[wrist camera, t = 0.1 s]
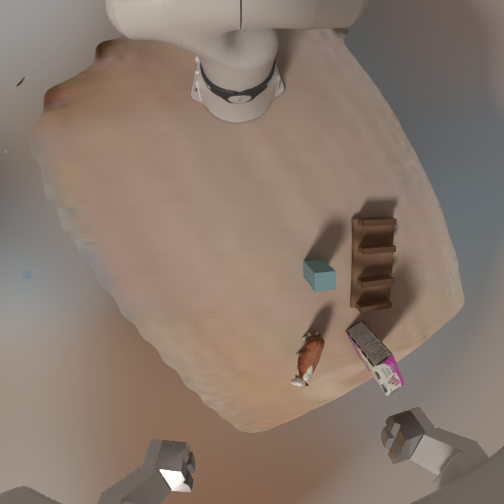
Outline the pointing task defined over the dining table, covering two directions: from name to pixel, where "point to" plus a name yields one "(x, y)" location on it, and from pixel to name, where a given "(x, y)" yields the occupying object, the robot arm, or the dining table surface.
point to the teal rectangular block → (319, 275)
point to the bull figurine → (308, 358)
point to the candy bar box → (376, 357)
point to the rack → (371, 263)
